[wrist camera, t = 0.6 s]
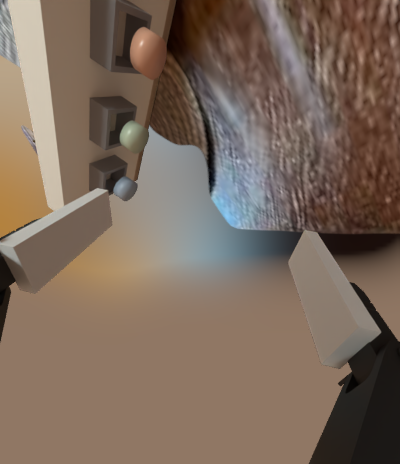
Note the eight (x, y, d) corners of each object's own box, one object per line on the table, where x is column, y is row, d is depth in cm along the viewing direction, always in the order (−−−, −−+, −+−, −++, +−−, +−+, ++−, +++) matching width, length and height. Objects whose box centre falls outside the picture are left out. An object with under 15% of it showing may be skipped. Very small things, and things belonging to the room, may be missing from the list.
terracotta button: (148, 71, 25) (127, 70, 22) (156, 31, 23) (133, 23, 20) (161, 80, 25) (141, 79, 22) (170, 40, 23) (149, 33, 20)
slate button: (127, 190, 39) (112, 198, 36) (130, 173, 36) (114, 181, 33) (135, 195, 39) (121, 204, 36) (139, 179, 36) (124, 187, 33)
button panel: (112, 162, 50) (30, 193, 36) (133, -50, 27) (-77, -209, 12) (146, 186, 50) (78, 228, 35) (198, -9, 27) (61, -123, 12)
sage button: (135, 143, 32) (118, 149, 29) (140, 118, 29) (121, 122, 26) (145, 150, 32) (129, 156, 29) (151, 126, 29) (133, 130, 26)
